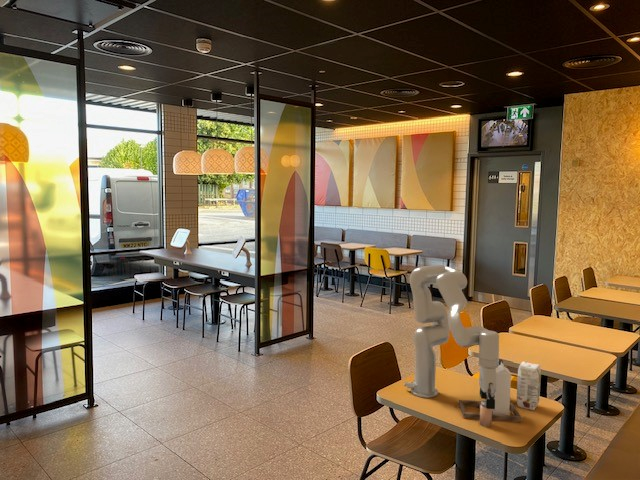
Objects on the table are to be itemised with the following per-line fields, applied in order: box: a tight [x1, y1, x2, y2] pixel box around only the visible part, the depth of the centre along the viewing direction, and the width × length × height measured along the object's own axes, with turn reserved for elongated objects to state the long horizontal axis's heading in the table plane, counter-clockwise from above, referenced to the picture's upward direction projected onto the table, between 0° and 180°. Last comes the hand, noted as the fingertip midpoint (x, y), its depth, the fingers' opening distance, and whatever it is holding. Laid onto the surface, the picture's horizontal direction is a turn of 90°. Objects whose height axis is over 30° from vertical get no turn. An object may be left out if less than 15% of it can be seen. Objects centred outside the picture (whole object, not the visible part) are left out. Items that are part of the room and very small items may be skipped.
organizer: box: [458, 399, 522, 423], centre depth 204 cm, size 23×13×2 cm, turn 82°
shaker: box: [479, 400, 493, 428], centre depth 193 cm, size 5×5×9 cm
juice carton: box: [516, 361, 542, 411], centre depth 210 cm, size 8×9×19 cm
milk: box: [492, 362, 512, 415], centre depth 203 cm, size 6×6×22 cm
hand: (487, 403), depth 192 cm, fingers open, 9 cm apart
